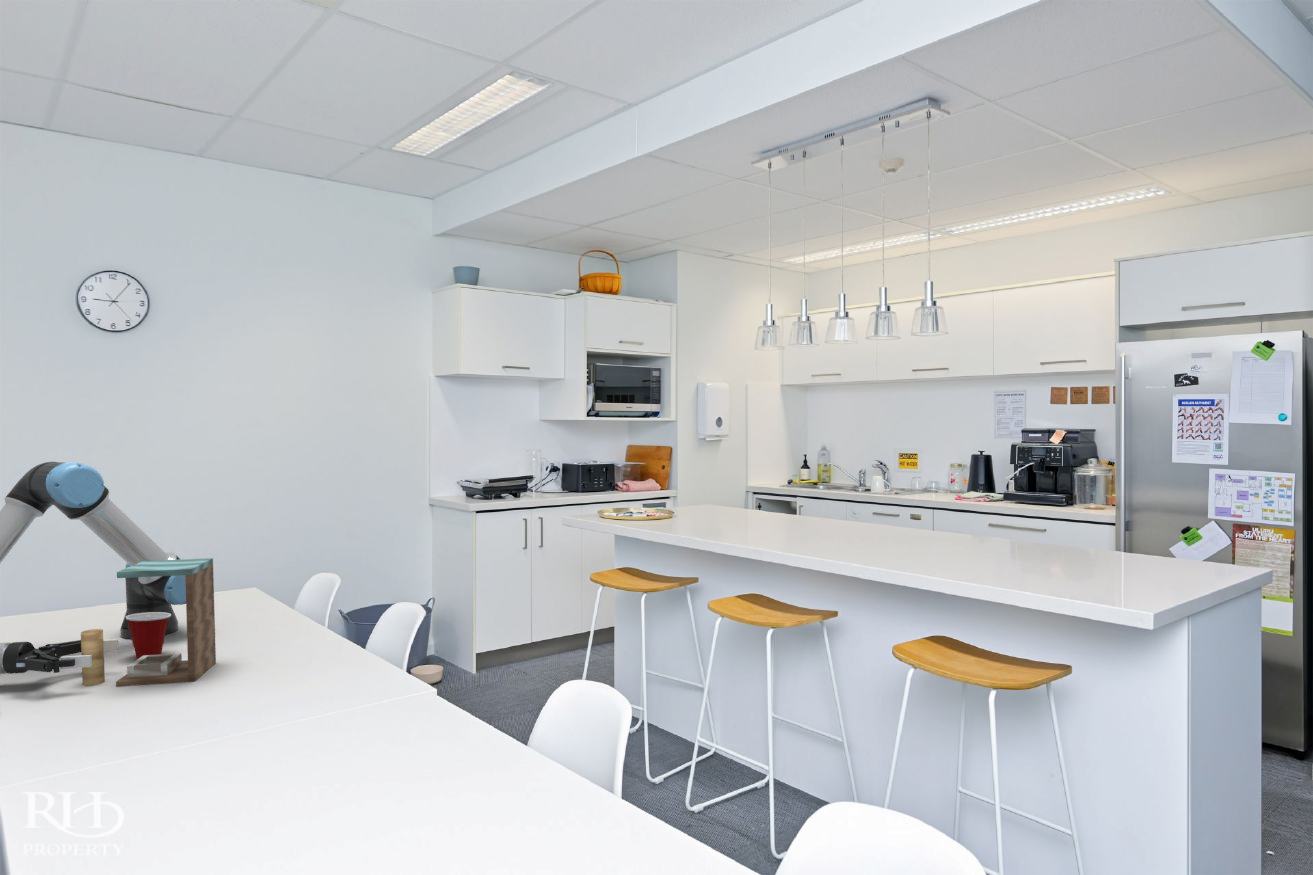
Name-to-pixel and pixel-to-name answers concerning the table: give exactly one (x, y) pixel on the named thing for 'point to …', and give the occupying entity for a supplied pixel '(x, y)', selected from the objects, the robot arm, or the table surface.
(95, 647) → the peg
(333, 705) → the table surface
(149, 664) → the awning stand
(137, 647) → the plastic cup
